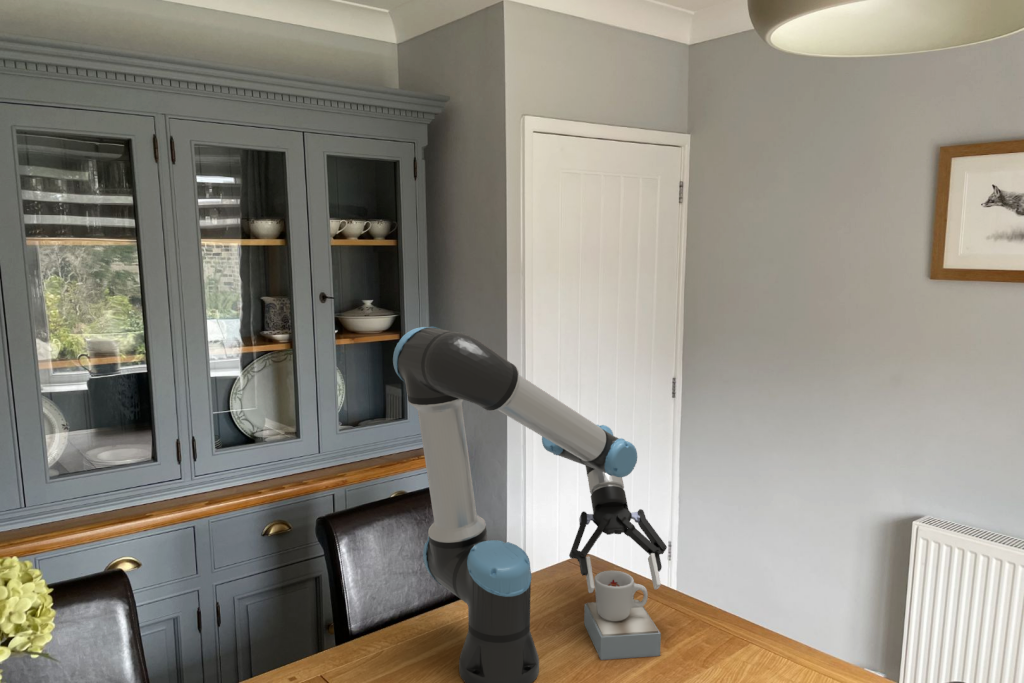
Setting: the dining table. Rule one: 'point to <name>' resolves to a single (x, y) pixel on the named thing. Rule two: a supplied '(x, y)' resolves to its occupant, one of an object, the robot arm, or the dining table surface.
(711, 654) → the dining table surface
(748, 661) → the dining table surface
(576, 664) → the dining table surface
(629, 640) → the grey flat block
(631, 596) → the cup
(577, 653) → the dining table surface
